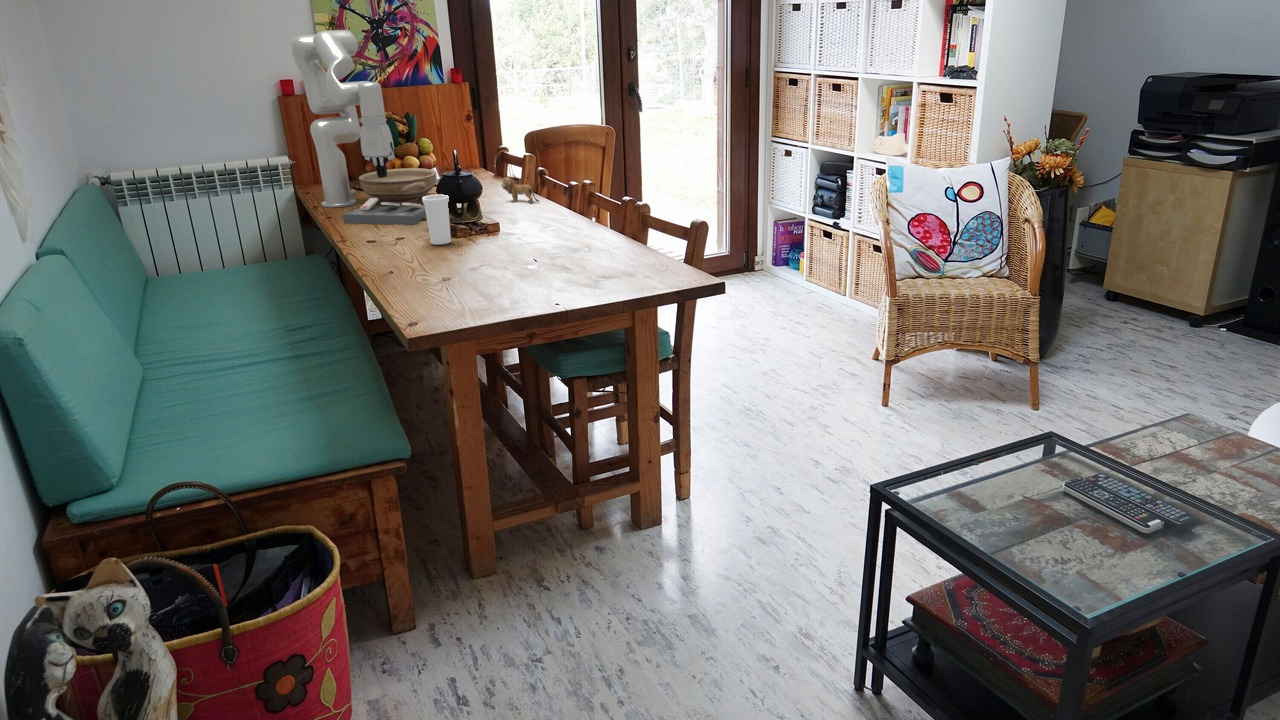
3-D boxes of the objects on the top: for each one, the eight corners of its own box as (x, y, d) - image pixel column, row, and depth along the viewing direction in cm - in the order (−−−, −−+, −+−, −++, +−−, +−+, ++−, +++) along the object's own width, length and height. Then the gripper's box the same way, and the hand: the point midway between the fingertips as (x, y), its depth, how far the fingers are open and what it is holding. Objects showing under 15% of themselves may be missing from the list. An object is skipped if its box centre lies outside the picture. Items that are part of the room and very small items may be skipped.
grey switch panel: (365, 214, 309) (364, 205, 308) (447, 216, 302) (446, 207, 301) (344, 223, 297) (342, 214, 296) (429, 225, 289) (428, 216, 288)
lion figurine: (500, 202, 321) (498, 178, 318) (507, 200, 326) (505, 175, 322) (536, 204, 316) (534, 179, 313) (542, 201, 321) (541, 177, 318)
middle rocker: (392, 205, 305) (392, 203, 305) (400, 206, 304) (400, 203, 304) (380, 204, 297) (380, 201, 297) (388, 204, 297) (388, 202, 296)
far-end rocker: (370, 200, 306) (370, 197, 305) (378, 200, 305) (377, 197, 304) (360, 209, 300) (359, 207, 299) (368, 210, 299) (367, 207, 298)
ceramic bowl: (346, 199, 336) (342, 173, 332) (415, 189, 352) (412, 164, 349) (384, 214, 309) (380, 185, 305) (457, 202, 325) (454, 175, 321)
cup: (448, 246, 261) (442, 199, 256) (423, 246, 263) (417, 199, 258) (458, 240, 269) (453, 194, 263) (434, 239, 270) (428, 194, 265)
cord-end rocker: (413, 206, 303) (413, 203, 303) (420, 206, 302) (420, 203, 302) (402, 205, 295) (402, 202, 295) (410, 205, 295) (410, 202, 295)
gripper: (348, 123, 285) (357, 179, 292) (388, 122, 282) (397, 179, 288) (360, 120, 292) (368, 175, 299) (400, 119, 289) (407, 175, 295)
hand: (382, 177), depth 294 cm, fingers closed
